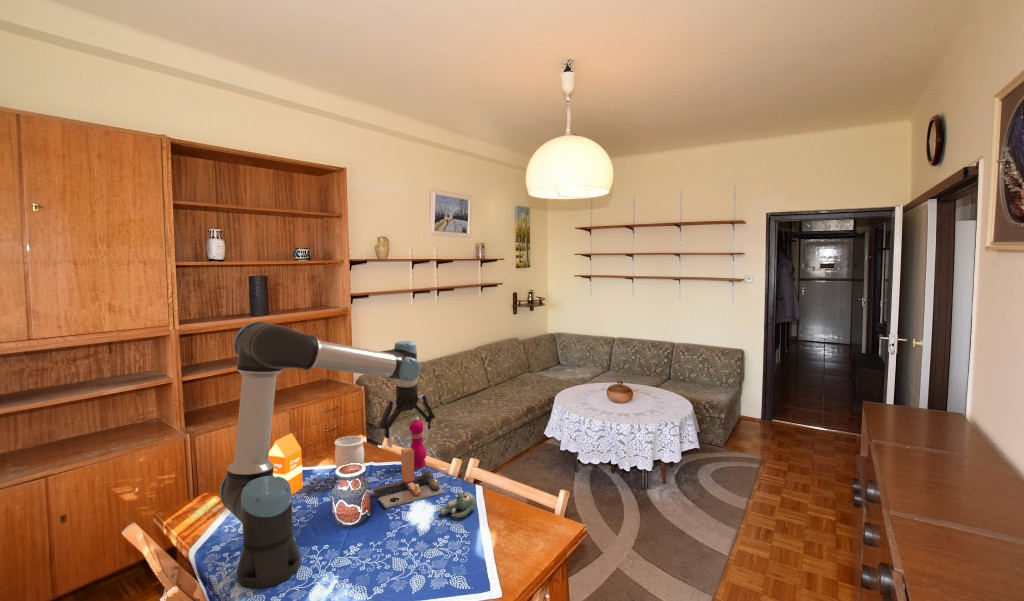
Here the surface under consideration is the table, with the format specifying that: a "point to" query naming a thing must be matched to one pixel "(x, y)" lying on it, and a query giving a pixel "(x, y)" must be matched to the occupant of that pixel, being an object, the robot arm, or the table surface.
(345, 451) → the jar
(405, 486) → the rail
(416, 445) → the pepper mill
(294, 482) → the orange juice
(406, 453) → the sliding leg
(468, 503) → the stuffed animal
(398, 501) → the bolt plate
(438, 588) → the table surface
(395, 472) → the table surface
